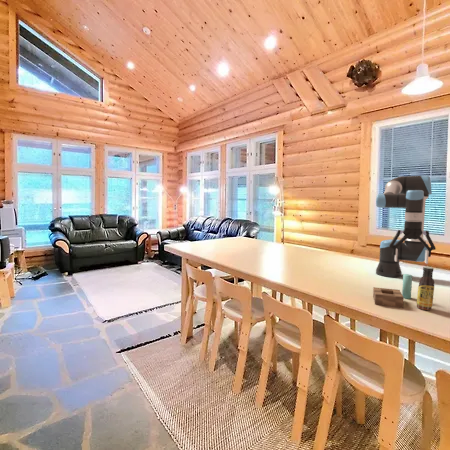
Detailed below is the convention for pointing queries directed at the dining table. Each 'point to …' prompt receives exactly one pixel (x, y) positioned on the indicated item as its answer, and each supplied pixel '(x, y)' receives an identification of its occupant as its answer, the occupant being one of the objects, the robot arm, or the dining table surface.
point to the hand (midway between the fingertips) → (410, 262)
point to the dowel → (407, 286)
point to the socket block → (388, 297)
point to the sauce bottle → (426, 290)
